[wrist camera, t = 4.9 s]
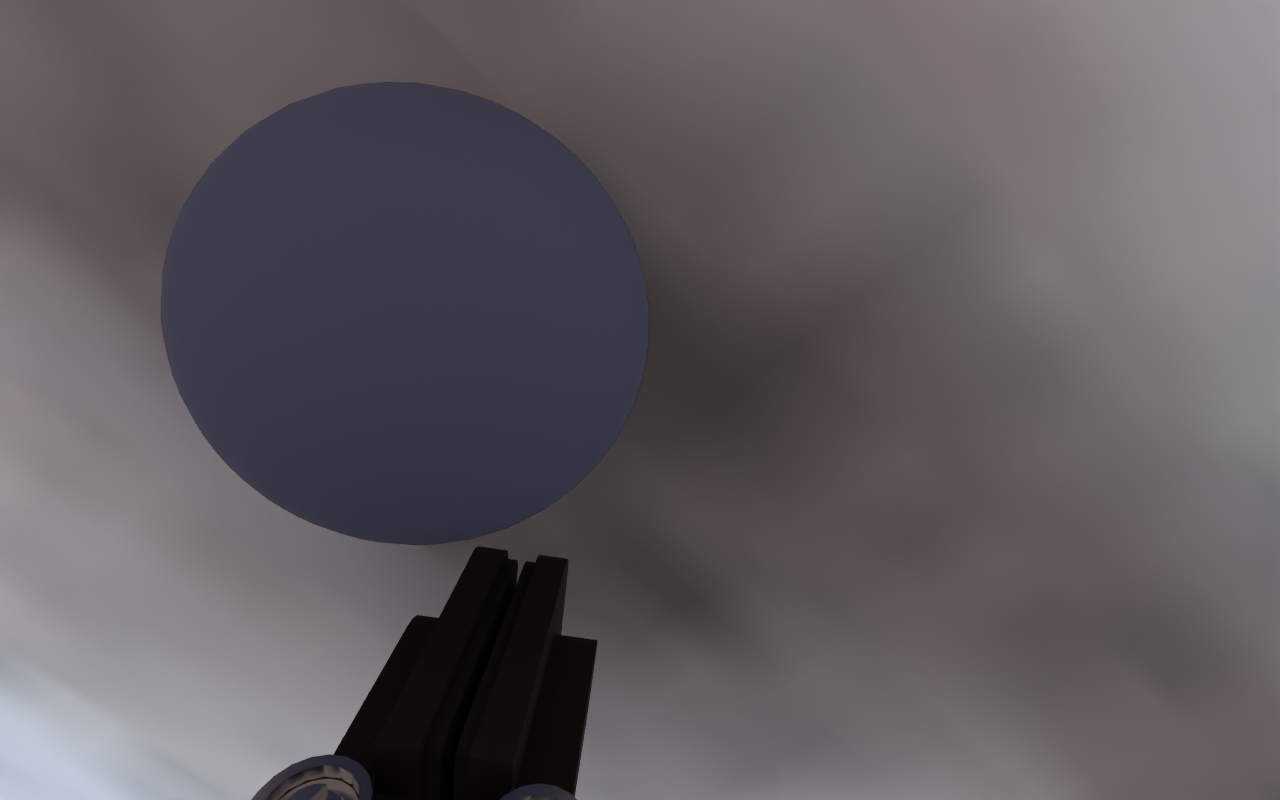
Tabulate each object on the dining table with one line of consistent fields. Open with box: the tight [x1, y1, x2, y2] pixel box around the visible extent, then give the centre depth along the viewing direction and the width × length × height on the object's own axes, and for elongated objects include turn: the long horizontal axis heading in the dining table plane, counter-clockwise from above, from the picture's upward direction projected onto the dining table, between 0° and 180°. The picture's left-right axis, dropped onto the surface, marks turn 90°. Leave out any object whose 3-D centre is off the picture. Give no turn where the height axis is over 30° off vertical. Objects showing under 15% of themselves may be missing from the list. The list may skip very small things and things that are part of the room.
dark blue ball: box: [161, 82, 649, 545], centre depth 8 cm, size 6×6×6 cm
